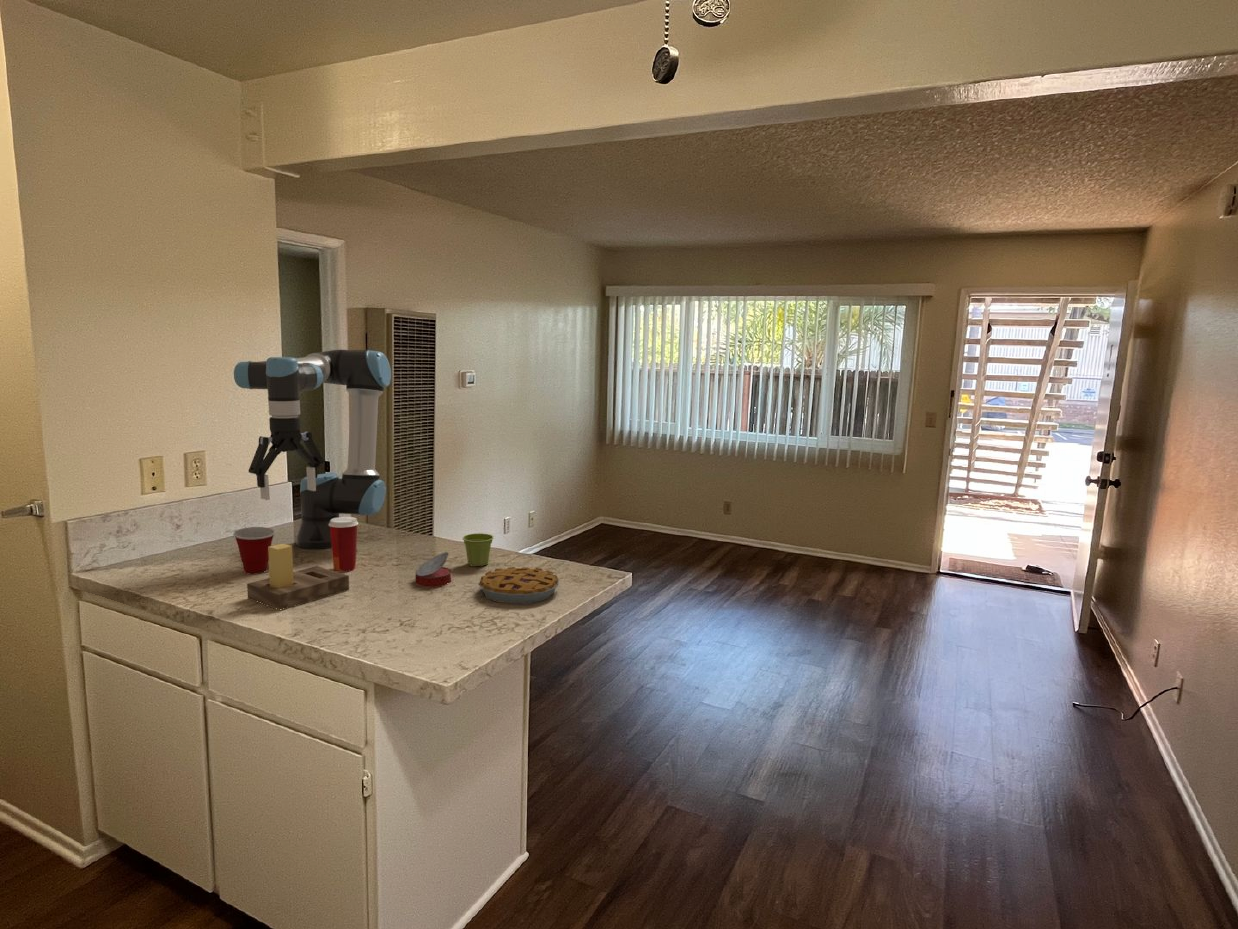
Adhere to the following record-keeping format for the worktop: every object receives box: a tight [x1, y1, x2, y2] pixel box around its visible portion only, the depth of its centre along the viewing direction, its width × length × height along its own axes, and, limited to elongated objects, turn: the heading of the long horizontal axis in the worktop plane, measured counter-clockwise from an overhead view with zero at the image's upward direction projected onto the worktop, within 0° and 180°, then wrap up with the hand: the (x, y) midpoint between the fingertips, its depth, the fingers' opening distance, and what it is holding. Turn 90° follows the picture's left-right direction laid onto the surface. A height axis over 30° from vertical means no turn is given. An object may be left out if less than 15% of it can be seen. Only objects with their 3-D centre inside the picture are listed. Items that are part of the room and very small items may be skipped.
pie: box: [478, 566, 560, 604], centre depth 194 cm, size 22×22×5 cm
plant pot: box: [462, 532, 495, 567], centre depth 218 cm, size 9×9×9 cm
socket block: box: [246, 565, 350, 611], centre depth 187 cm, size 20×14×4 cm
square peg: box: [268, 543, 294, 589], centre depth 182 cm, size 4×4×14 cm
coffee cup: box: [328, 516, 359, 573], centre depth 209 cm, size 8×8×15 cm
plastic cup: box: [232, 526, 276, 575], centre depth 204 cm, size 11×11×12 cm
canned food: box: [415, 551, 452, 588], centre depth 200 cm, size 11×10×10 cm
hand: (289, 494), depth 191 cm, fingers open, 13 cm apart
